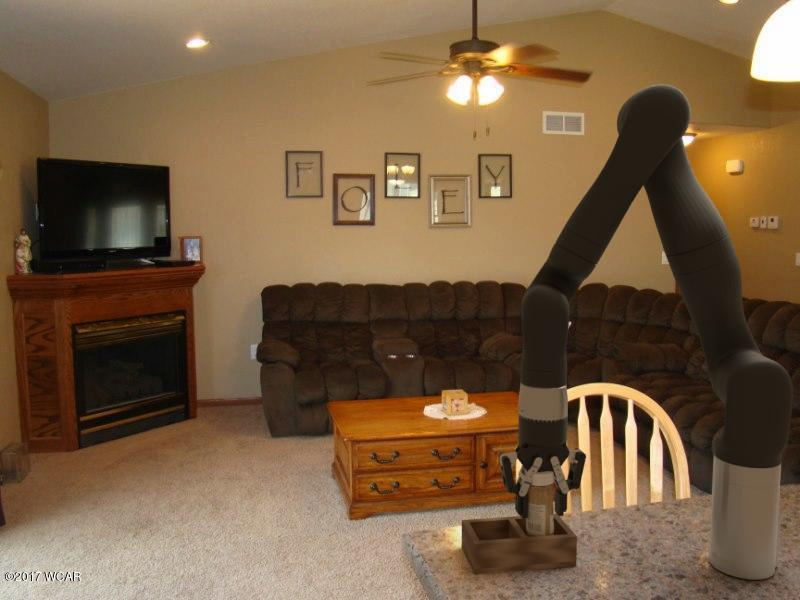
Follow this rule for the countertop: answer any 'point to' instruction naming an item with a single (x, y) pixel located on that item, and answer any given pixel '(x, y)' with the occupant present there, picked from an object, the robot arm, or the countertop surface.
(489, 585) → the countertop surface
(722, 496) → the robot arm
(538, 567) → the spice caddy
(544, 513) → the sprinkles bottle
